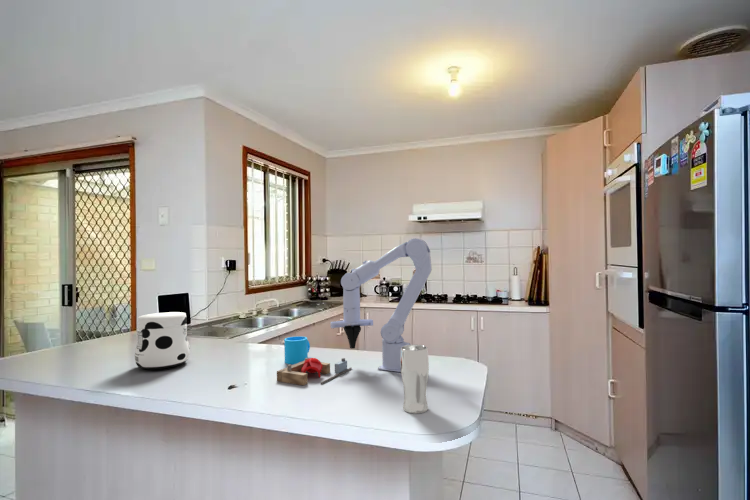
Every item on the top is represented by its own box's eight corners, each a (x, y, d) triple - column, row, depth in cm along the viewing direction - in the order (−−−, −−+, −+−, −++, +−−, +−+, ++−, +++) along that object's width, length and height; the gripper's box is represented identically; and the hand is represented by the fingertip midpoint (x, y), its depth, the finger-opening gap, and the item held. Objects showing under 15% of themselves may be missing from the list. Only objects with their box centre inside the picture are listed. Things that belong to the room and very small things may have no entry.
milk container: (199, 359, 152) (198, 311, 152) (171, 373, 134) (170, 318, 134) (155, 359, 153) (155, 311, 153) (122, 372, 136) (122, 319, 136)
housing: (351, 369, 134) (351, 355, 134) (315, 387, 117) (315, 371, 117) (315, 364, 141) (315, 351, 141) (276, 381, 123) (276, 366, 123)
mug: (298, 365, 141) (297, 341, 141) (279, 362, 145) (279, 340, 145) (318, 357, 152) (317, 335, 152) (300, 355, 155) (300, 333, 155)
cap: (324, 369, 124) (326, 354, 129) (306, 364, 123) (308, 349, 128) (316, 386, 128) (317, 371, 133) (298, 381, 126) (300, 367, 132)
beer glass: (399, 404, 102) (398, 344, 102) (426, 403, 103) (425, 343, 103) (403, 415, 95) (402, 351, 96) (432, 413, 96) (431, 350, 96)
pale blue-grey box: (347, 369, 133) (347, 358, 133) (339, 373, 129) (338, 361, 129) (343, 369, 134) (342, 357, 134) (334, 373, 130) (334, 361, 130)
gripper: (333, 310, 133) (333, 352, 132) (375, 308, 137) (376, 348, 137) (329, 308, 139) (329, 347, 139) (369, 305, 143) (370, 344, 143)
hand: (352, 347), depth 138 cm, fingers closed
